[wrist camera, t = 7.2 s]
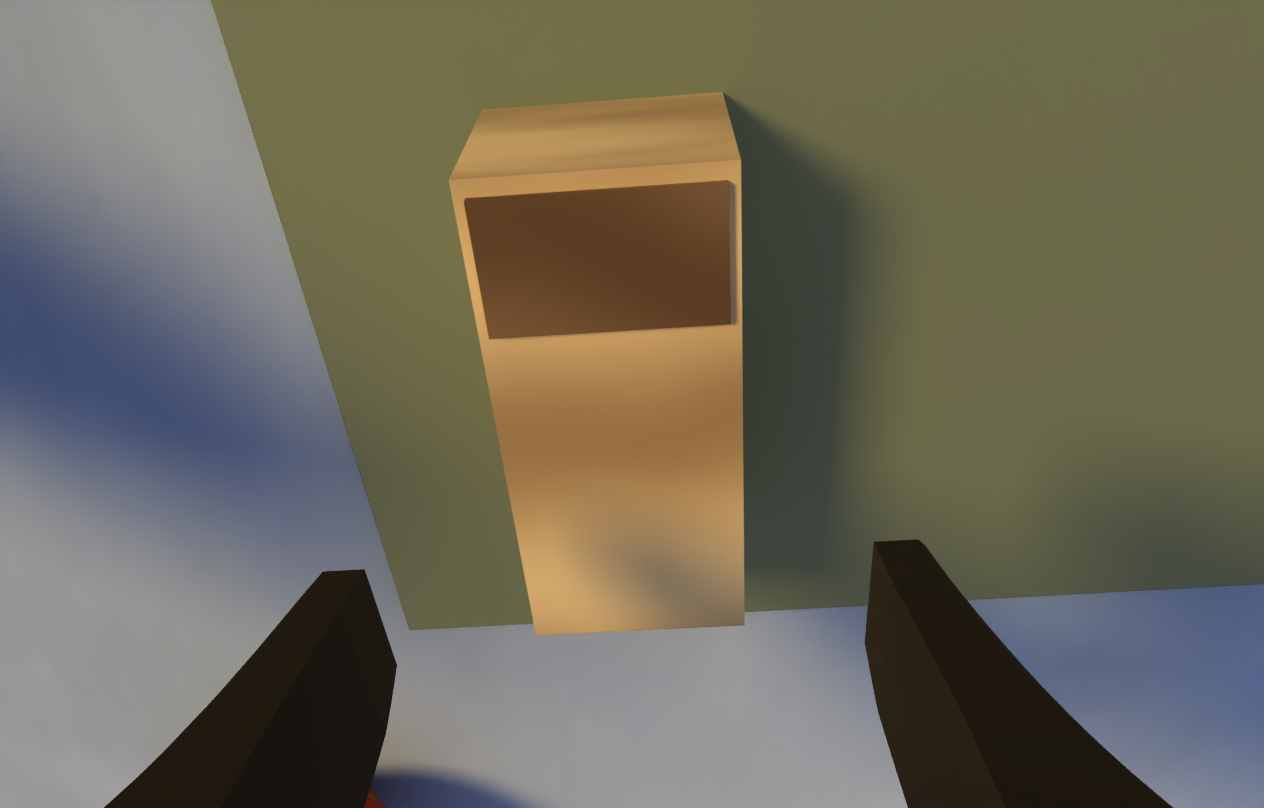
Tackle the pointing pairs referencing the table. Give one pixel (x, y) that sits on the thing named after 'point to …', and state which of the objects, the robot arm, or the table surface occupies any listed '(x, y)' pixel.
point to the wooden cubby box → (614, 353)
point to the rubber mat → (826, 274)
